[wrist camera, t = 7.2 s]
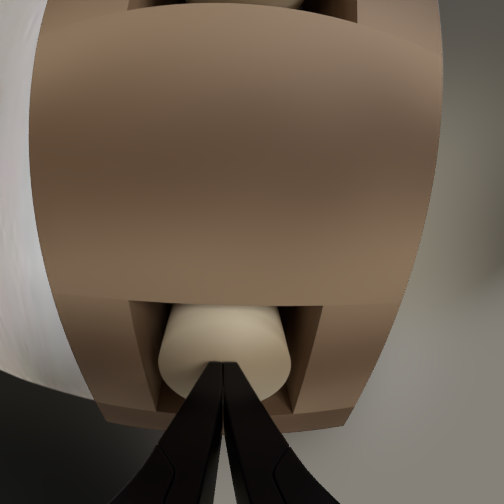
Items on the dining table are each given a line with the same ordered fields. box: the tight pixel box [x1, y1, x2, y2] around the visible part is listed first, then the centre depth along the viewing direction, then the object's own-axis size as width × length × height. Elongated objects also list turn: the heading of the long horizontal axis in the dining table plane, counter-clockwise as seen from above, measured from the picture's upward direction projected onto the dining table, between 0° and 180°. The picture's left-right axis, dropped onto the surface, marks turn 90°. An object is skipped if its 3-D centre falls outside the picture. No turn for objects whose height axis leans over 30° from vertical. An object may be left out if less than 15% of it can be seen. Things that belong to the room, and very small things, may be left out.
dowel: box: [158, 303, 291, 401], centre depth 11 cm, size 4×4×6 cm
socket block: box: [29, 0, 443, 435], centre depth 8 cm, size 20×10×6 cm, turn 176°
